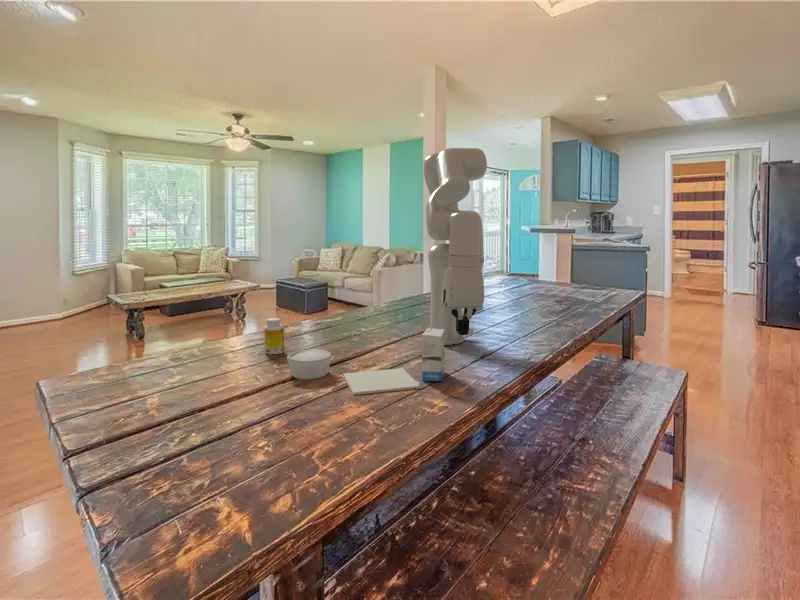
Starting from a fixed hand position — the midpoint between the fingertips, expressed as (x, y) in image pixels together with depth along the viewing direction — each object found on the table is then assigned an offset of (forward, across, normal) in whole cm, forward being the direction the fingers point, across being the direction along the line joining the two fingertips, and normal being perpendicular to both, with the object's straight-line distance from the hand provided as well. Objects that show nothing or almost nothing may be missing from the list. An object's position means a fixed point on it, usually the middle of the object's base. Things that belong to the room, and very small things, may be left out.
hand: (462, 334), depth 124 cm
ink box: (+11, +8, 0) cm, 13 cm away
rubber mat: (+11, +22, 0) cm, 24 cm away
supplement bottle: (+11, +46, -34) cm, 58 cm away
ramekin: (+11, +38, -11) cm, 41 cm away
